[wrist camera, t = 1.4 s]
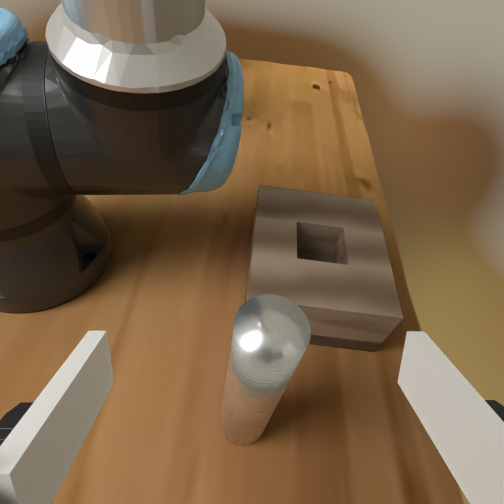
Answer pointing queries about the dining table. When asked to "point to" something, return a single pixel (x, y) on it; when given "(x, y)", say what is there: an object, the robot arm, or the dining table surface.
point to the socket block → (325, 265)
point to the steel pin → (261, 364)
